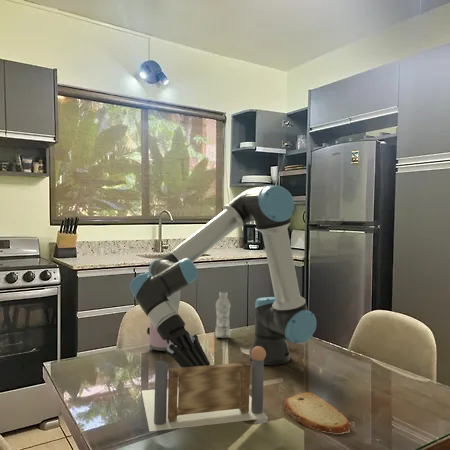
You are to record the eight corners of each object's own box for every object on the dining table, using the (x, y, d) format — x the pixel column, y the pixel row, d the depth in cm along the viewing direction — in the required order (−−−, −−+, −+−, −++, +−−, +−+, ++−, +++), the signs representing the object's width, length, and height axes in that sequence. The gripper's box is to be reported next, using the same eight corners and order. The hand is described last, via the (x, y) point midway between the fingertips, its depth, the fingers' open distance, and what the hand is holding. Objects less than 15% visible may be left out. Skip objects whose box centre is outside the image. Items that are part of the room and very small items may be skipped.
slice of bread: (351, 438, 101) (352, 423, 101) (277, 427, 105) (277, 412, 105) (348, 406, 118) (349, 393, 118) (285, 398, 123) (285, 385, 123)
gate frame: (240, 385, 130) (242, 326, 130) (269, 422, 107) (271, 350, 107) (141, 394, 122) (142, 331, 121) (149, 436, 99) (151, 358, 98)
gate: (168, 421, 103) (170, 371, 103) (167, 417, 105) (168, 368, 105) (248, 412, 109) (250, 364, 109) (246, 408, 111) (247, 362, 111)
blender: (184, 345, 170) (186, 267, 170) (176, 354, 158) (178, 270, 158) (146, 342, 172) (148, 265, 172) (136, 352, 160) (138, 269, 160)
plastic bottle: (228, 340, 179) (229, 293, 178) (213, 339, 180) (214, 293, 180) (231, 336, 185) (232, 291, 185) (216, 335, 186) (217, 290, 186)
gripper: (172, 324, 124) (219, 392, 116) (144, 334, 113) (194, 411, 105) (188, 309, 122) (237, 377, 114) (160, 317, 110) (212, 394, 102)
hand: (216, 393), depth 109 cm, fingers closed
